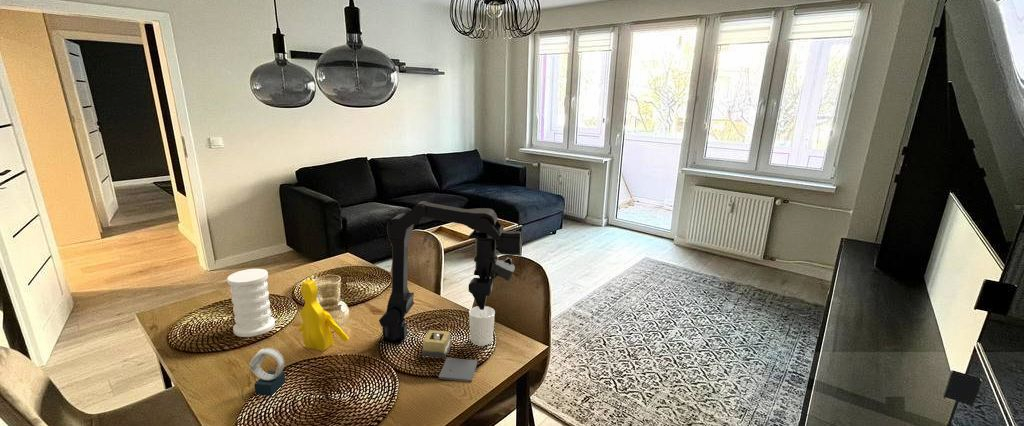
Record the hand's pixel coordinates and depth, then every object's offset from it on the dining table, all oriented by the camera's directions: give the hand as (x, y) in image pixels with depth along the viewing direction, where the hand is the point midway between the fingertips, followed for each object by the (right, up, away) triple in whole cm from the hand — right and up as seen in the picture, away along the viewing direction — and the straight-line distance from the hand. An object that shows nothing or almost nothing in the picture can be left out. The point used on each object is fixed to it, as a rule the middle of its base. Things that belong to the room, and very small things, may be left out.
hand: (484, 302), depth 129 cm
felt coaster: (-7, -17, -8) cm, 20 cm away
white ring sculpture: (-54, -18, -18) cm, 59 cm away
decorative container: (-74, -10, +10) cm, 76 cm away
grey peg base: (-14, -15, 0) cm, 20 cm away
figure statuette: (-49, -14, +1) cm, 51 cm away
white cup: (-1, -14, +7) cm, 15 cm away
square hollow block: (-14, -13, 0) cm, 19 cm away
